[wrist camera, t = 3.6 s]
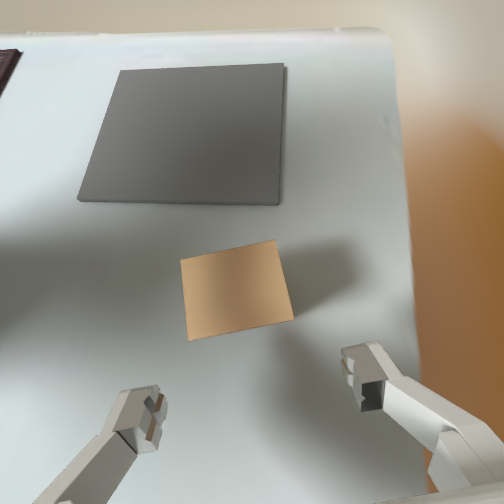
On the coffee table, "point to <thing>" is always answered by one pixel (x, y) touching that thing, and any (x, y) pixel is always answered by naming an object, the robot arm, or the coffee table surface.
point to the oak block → (234, 290)
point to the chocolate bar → (7, 64)
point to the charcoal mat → (190, 137)
